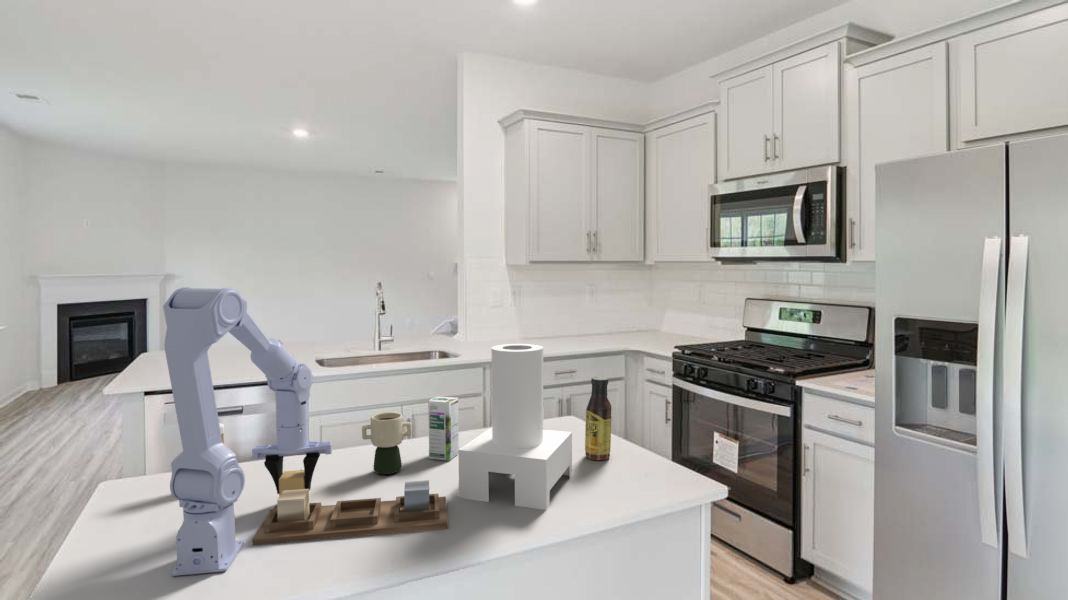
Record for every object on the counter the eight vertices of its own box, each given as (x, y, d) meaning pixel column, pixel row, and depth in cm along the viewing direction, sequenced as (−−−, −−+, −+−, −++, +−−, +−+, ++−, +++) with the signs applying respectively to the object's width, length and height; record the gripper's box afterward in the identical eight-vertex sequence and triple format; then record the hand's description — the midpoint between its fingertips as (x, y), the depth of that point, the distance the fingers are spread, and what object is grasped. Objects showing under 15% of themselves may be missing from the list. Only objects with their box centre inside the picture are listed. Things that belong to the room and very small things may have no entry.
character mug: (411, 464, 138) (410, 410, 137) (412, 475, 131) (411, 418, 130) (363, 468, 136) (362, 413, 135) (362, 479, 129) (361, 422, 128)
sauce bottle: (580, 455, 144) (580, 376, 143) (601, 451, 147) (602, 373, 145) (593, 463, 138) (594, 381, 137) (616, 459, 141) (616, 378, 140)
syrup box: (428, 459, 142) (427, 400, 141) (438, 451, 147) (438, 395, 146) (449, 461, 140) (448, 402, 139) (459, 453, 146) (458, 396, 145)
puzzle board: (448, 528, 105) (447, 496, 105) (252, 545, 99) (251, 510, 99) (445, 501, 117) (445, 472, 117) (270, 514, 111) (269, 484, 111)
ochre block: (304, 502, 114) (303, 477, 113) (279, 504, 113) (278, 479, 113) (308, 493, 118) (307, 469, 118) (285, 495, 117) (284, 471, 117)
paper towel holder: (546, 510, 113) (546, 356, 111) (459, 497, 119) (457, 352, 117) (571, 476, 131) (572, 343, 129) (494, 466, 137) (493, 339, 135)
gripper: (333, 416, 120) (335, 480, 121) (258, 420, 117) (260, 486, 118) (328, 425, 113) (330, 494, 114) (247, 430, 110) (250, 500, 111)
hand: (294, 491), depth 115 cm, fingers closed on ochre block, 4 cm apart
